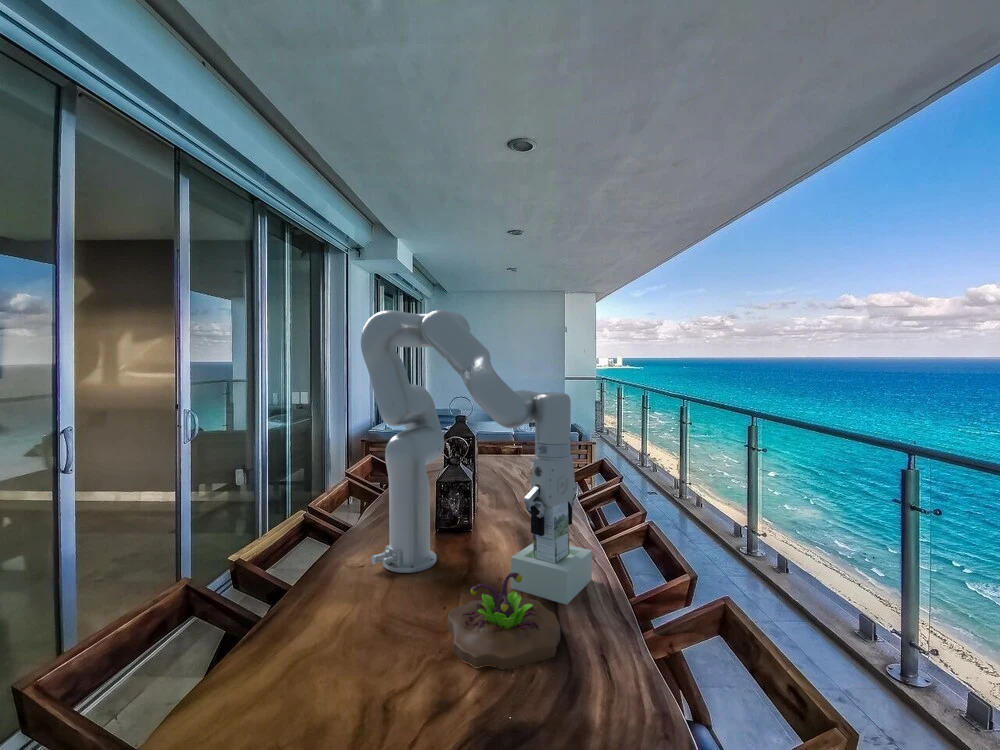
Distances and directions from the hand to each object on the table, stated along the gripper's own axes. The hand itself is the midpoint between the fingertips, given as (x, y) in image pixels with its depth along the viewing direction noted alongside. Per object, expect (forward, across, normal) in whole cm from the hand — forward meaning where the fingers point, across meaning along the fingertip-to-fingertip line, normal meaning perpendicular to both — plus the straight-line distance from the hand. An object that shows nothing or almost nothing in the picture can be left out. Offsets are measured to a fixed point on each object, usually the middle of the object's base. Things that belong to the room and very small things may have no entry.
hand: (552, 528), depth 108 cm
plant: (+13, -21, -6) cm, 25 cm away
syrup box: (+6, 0, 0) cm, 6 cm away
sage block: (+12, 0, 0) cm, 13 cm away
